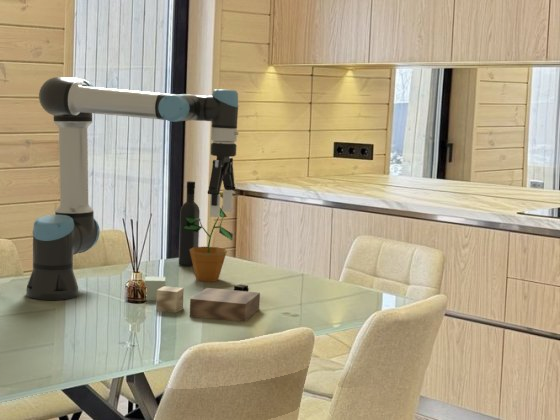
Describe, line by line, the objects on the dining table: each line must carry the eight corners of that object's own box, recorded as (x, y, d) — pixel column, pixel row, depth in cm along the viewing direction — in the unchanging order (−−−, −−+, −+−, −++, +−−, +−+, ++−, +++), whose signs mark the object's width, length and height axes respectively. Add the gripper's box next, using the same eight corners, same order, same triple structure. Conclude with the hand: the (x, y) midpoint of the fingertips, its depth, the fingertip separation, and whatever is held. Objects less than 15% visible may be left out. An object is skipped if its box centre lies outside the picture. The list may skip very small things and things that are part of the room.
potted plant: (245, 279, 324) (248, 190, 320) (211, 287, 308) (215, 194, 305) (202, 271, 334) (205, 185, 330) (168, 279, 318) (171, 189, 314)
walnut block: (189, 316, 268) (190, 298, 268) (206, 304, 284) (207, 287, 283) (244, 321, 265) (245, 304, 264) (259, 309, 280) (259, 292, 280)
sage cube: (144, 300, 286) (145, 280, 285) (144, 295, 292) (145, 276, 291) (164, 300, 287) (165, 280, 286) (164, 296, 293) (165, 276, 292)
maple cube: (156, 310, 274) (156, 290, 273) (163, 306, 279) (164, 286, 279) (176, 312, 272) (176, 292, 271) (183, 308, 278) (183, 287, 277)
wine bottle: (177, 265, 344) (180, 181, 340) (184, 262, 349) (187, 180, 345) (191, 266, 342) (194, 182, 338) (198, 264, 347) (201, 181, 343)
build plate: (240, 305, 287) (240, 290, 286) (219, 302, 290) (219, 287, 290) (260, 298, 298) (261, 284, 297) (240, 295, 301) (241, 280, 300)
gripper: (224, 145, 269) (221, 220, 272) (246, 141, 293) (243, 210, 296) (199, 143, 270) (196, 218, 273) (222, 139, 295) (219, 208, 297)
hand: (220, 214), depth 285 cm, fingers open, 13 cm apart
